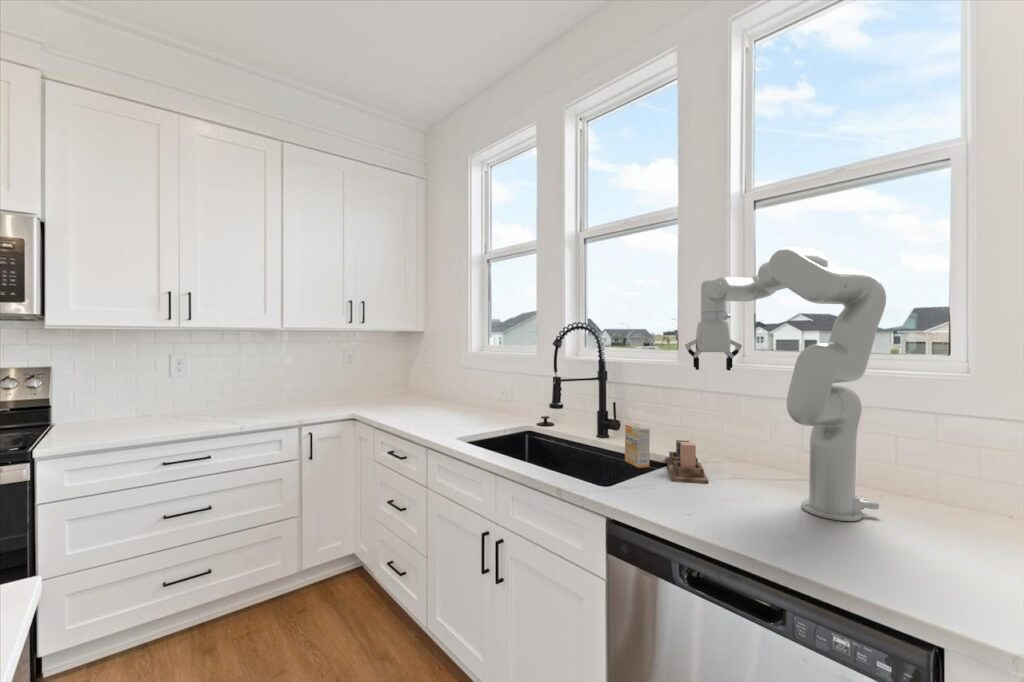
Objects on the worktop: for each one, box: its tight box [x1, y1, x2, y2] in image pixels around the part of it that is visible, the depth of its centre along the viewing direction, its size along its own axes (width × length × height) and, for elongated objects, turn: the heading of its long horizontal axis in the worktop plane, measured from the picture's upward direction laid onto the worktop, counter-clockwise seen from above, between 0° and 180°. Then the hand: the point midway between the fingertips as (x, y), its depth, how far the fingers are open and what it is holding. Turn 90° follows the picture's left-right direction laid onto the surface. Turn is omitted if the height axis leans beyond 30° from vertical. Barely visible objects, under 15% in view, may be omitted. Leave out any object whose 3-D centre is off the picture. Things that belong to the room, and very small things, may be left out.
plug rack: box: [665, 439, 709, 485], centre depth 151 cm, size 10×24×8 cm, turn 167°
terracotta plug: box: [680, 441, 697, 468], centre depth 145 cm, size 4×4×9 cm
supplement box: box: [624, 423, 651, 469], centre depth 158 cm, size 8×5×13 cm, turn 17°
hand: (712, 369), depth 154 cm, fingers open, 9 cm apart
